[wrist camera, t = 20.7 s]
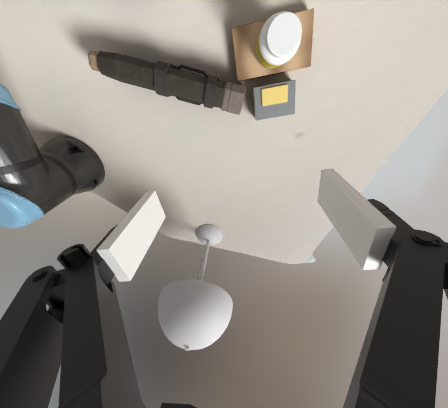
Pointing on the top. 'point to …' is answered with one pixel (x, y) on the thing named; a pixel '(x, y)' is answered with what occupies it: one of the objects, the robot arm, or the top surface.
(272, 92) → the block
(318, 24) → the top surface
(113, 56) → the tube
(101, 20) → the top surface
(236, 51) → the board
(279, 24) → the pill bottle
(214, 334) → the lamp
